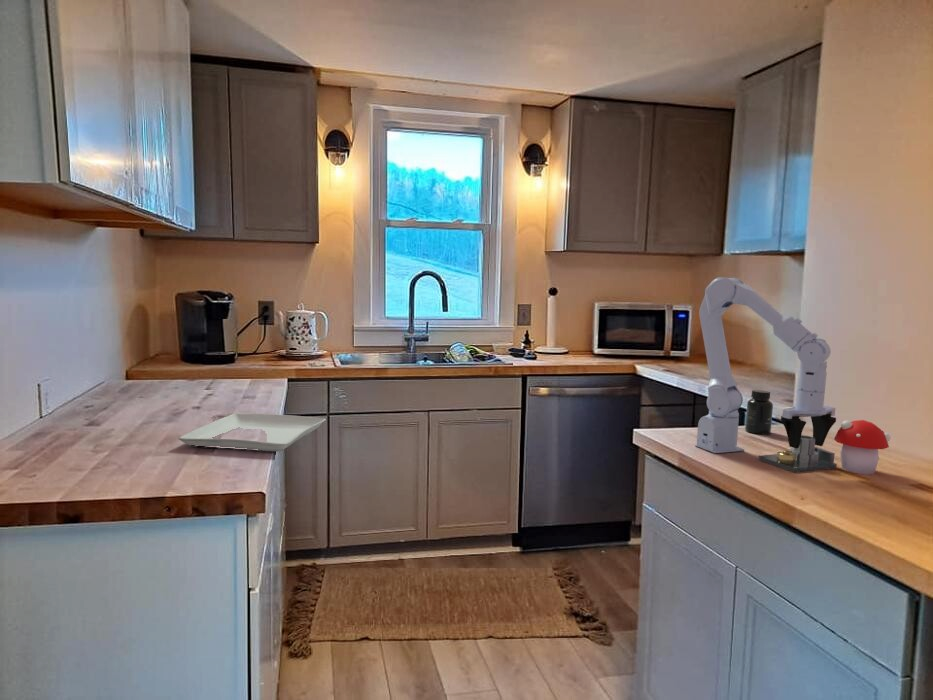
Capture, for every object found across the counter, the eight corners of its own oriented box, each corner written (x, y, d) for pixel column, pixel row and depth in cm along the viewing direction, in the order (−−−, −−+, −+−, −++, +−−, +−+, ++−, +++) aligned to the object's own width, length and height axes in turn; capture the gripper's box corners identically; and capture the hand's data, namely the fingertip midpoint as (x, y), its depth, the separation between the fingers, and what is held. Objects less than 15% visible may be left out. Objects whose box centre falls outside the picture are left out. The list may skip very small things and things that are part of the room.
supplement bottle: (773, 435, 179) (777, 394, 178) (747, 433, 180) (751, 392, 179) (767, 430, 186) (770, 389, 184) (742, 428, 187) (745, 388, 186)
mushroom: (878, 466, 151) (883, 417, 149) (892, 480, 140) (898, 427, 139) (828, 461, 154) (832, 413, 153) (838, 474, 144) (843, 422, 142)
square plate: (233, 425, 177) (233, 411, 176) (327, 430, 173) (327, 417, 173) (176, 451, 150) (176, 435, 150) (285, 458, 146) (285, 442, 146)
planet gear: (804, 464, 147) (806, 441, 147) (783, 457, 153) (785, 434, 152) (823, 462, 149) (825, 439, 149) (802, 455, 155) (804, 433, 154)
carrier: (794, 472, 144) (795, 455, 143) (758, 459, 154) (759, 443, 153) (837, 467, 148) (838, 451, 148) (799, 455, 158) (801, 440, 158)
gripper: (802, 394, 143) (796, 452, 144) (848, 392, 148) (843, 448, 149) (777, 389, 149) (772, 444, 151) (822, 386, 154) (817, 441, 156)
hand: (805, 446), depth 150 cm, fingers open, 7 cm apart
